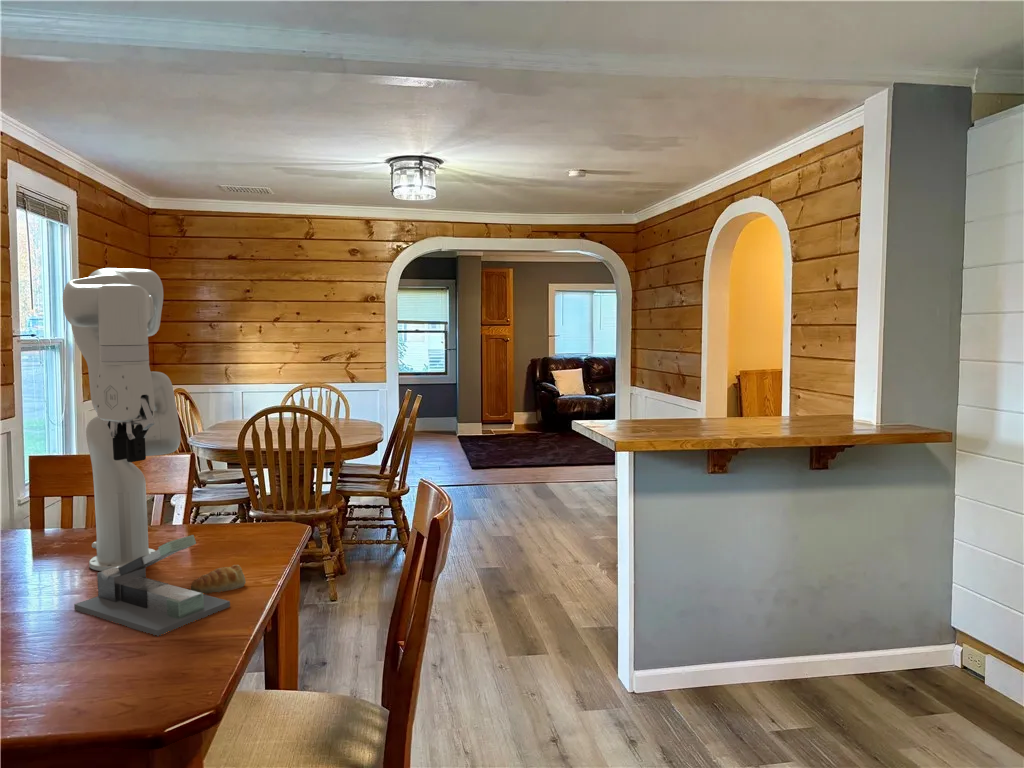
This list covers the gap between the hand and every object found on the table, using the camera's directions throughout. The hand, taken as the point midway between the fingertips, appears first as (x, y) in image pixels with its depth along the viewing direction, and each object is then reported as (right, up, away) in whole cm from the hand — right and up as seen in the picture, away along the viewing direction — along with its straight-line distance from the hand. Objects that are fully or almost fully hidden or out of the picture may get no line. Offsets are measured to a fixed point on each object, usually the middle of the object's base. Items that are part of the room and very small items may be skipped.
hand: (129, 459), depth 128 cm
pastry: (+12, -26, +10) cm, 30 cm away
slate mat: (+4, -26, 0) cm, 27 cm away
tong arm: (+6, -17, -2) cm, 18 cm away
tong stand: (+4, -25, 0) cm, 26 cm away
